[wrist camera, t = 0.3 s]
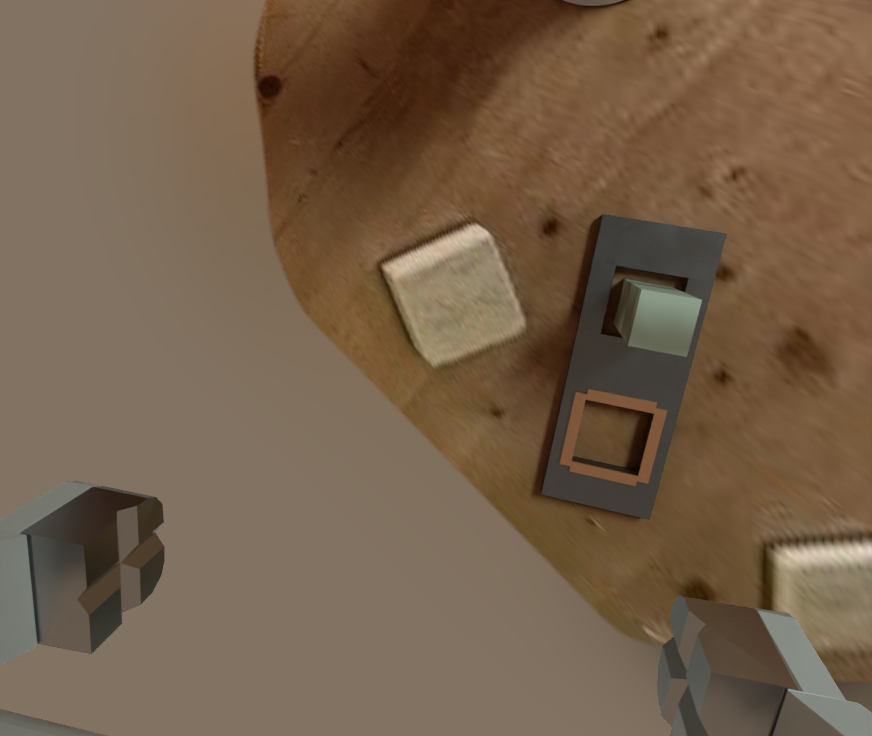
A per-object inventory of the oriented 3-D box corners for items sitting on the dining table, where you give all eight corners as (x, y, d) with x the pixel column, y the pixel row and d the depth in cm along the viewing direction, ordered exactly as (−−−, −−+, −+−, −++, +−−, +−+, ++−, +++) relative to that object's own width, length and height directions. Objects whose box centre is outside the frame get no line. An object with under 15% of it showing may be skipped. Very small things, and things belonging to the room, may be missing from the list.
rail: (602, 214, 52) (603, 214, 51) (722, 233, 51) (727, 233, 49) (541, 489, 58) (541, 495, 57) (647, 514, 57) (650, 521, 55)
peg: (623, 278, 53) (641, 289, 41) (670, 286, 52) (702, 299, 41) (613, 323, 54) (627, 345, 42) (659, 331, 53) (686, 357, 42)
